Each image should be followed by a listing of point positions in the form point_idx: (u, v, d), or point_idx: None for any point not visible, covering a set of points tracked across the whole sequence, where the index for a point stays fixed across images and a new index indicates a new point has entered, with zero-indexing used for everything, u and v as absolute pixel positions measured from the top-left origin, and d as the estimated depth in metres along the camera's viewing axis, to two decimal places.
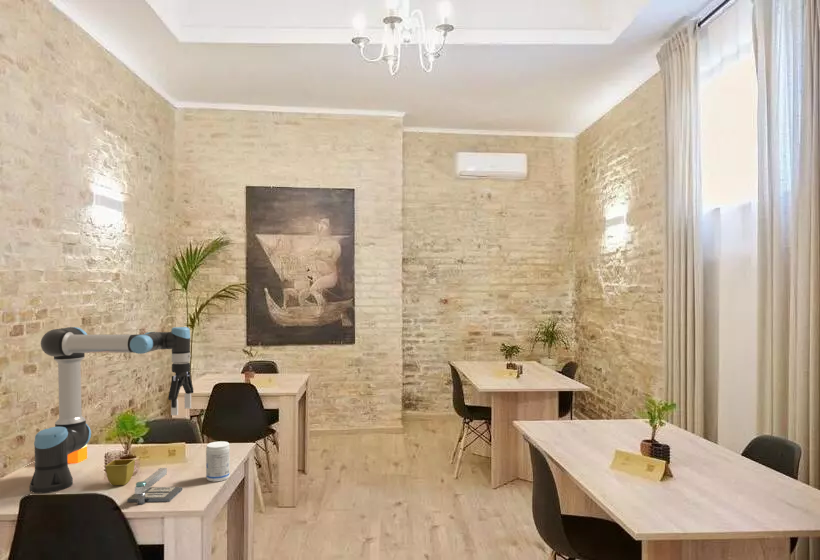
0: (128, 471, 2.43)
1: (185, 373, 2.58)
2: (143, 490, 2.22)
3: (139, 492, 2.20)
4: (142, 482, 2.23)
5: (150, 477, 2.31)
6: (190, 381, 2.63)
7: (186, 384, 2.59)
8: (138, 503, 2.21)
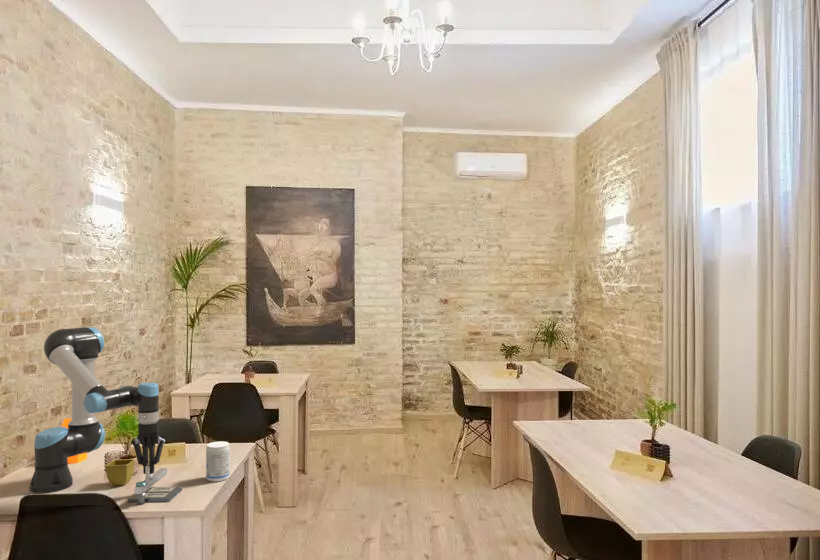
0: (128, 471, 2.43)
1: (154, 433, 2.33)
2: (143, 490, 2.22)
3: (139, 492, 2.20)
4: (142, 482, 2.23)
5: (150, 477, 2.31)
6: (157, 450, 2.32)
7: None
8: (138, 503, 2.21)
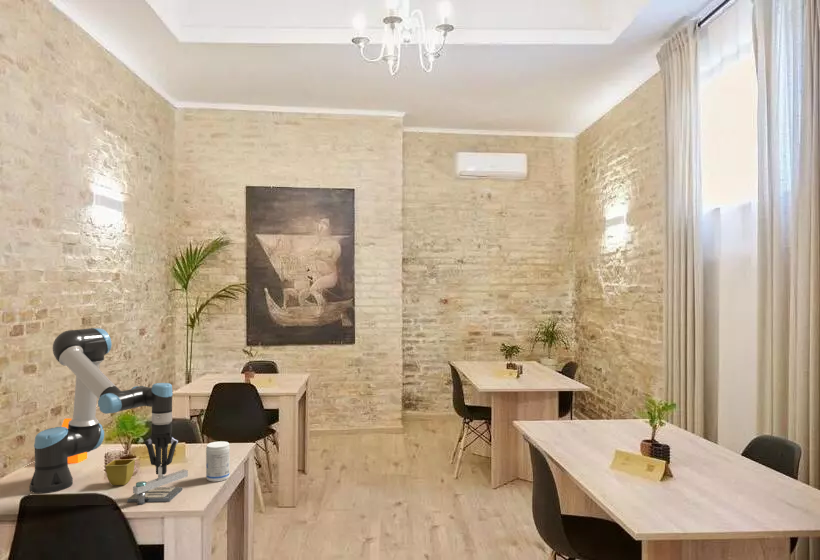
0: (128, 471, 2.43)
1: (167, 434, 2.32)
2: (141, 490, 2.21)
3: (136, 492, 2.20)
4: (142, 482, 2.23)
5: (160, 478, 2.30)
6: (169, 451, 2.32)
7: None
8: (138, 503, 2.21)
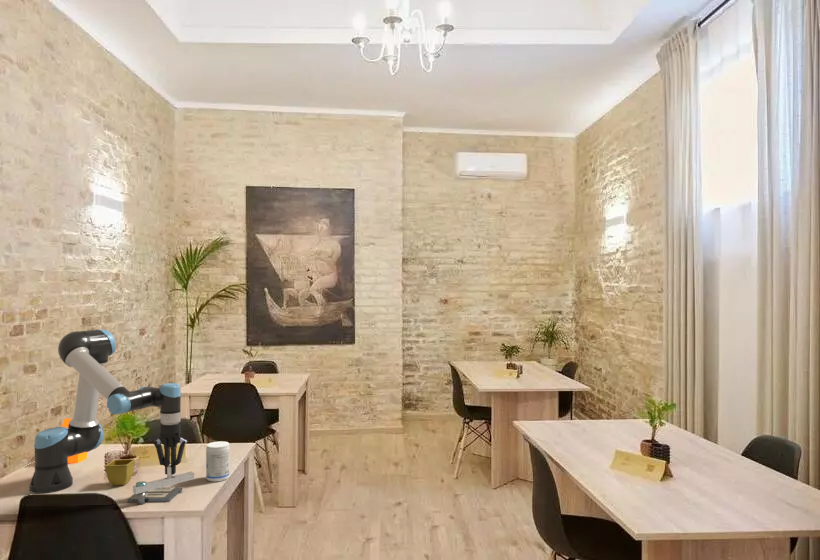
0: (128, 471, 2.43)
1: (176, 434, 2.33)
2: (140, 491, 2.21)
3: (135, 492, 2.20)
4: (142, 482, 2.23)
5: (163, 479, 2.29)
6: (178, 451, 2.32)
7: None
8: (138, 503, 2.21)
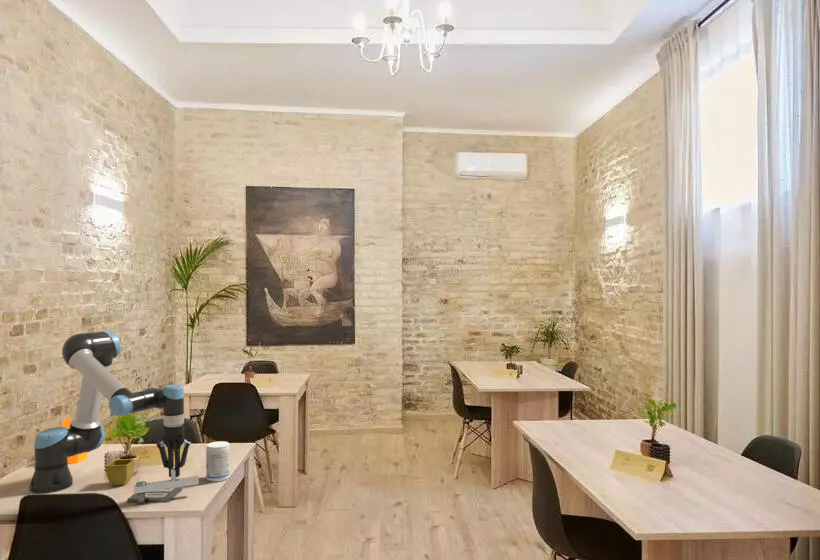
0: (128, 471, 2.43)
1: (179, 436, 2.29)
2: (138, 491, 2.21)
3: None
4: (141, 483, 2.22)
5: (165, 481, 2.27)
6: (182, 453, 2.29)
7: None
8: (138, 503, 2.21)
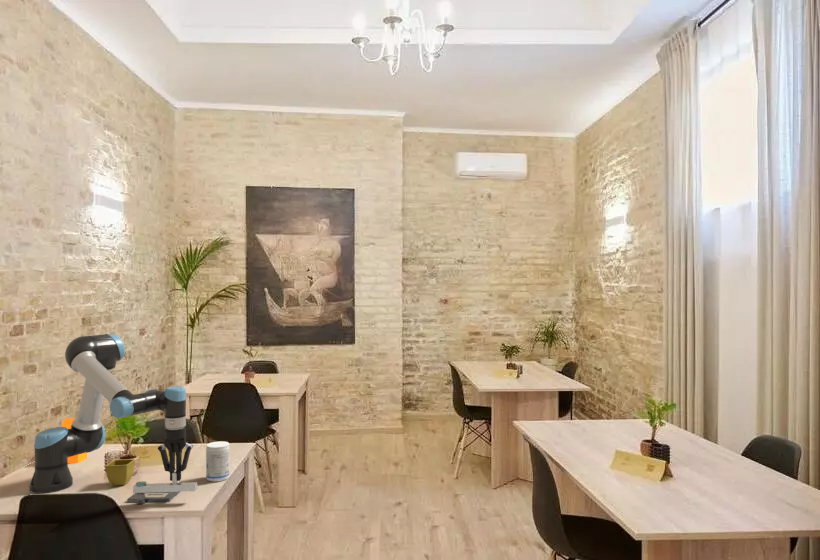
0: (128, 471, 2.43)
1: (181, 439, 2.25)
2: (137, 490, 2.21)
3: None
4: (141, 483, 2.22)
5: (164, 484, 2.23)
6: (184, 457, 2.25)
7: None
8: (138, 503, 2.21)
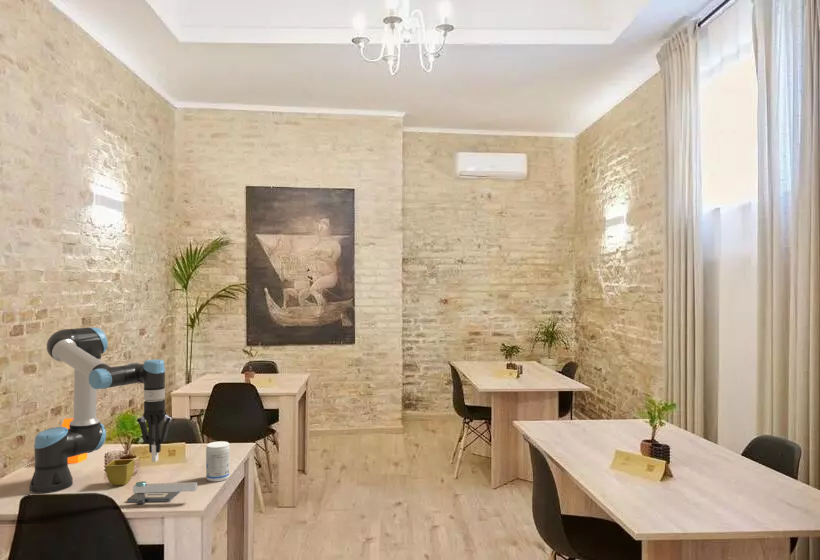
0: (128, 471, 2.43)
1: (160, 411, 2.27)
2: (137, 490, 2.21)
3: None
4: (141, 483, 2.22)
5: (164, 484, 2.23)
6: (163, 428, 2.27)
7: None
8: (138, 503, 2.21)
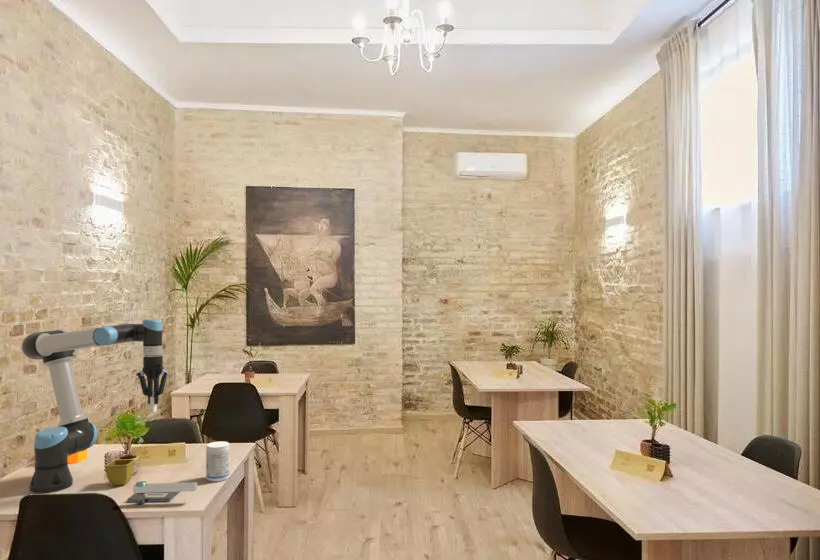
0: (128, 471, 2.43)
1: (158, 366, 2.47)
2: (137, 490, 2.21)
3: None
4: (141, 483, 2.22)
5: (164, 484, 2.23)
6: (161, 382, 2.47)
7: None
8: (138, 503, 2.21)
